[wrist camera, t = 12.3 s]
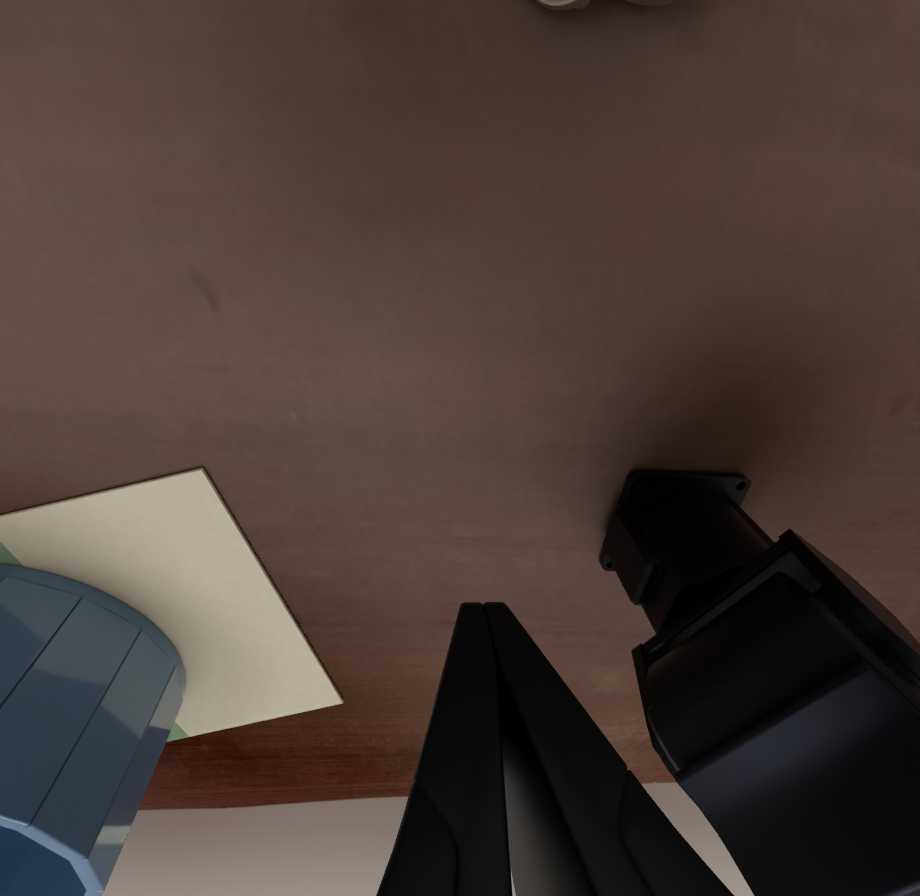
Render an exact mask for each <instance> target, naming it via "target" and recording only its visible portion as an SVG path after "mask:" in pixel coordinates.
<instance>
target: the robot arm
mask: <svg viewBox="0 0 920 896" xmlns="http://www.w3.org/2000/svg"><path fill="white" fill-rule="evenodd" d="M638 479H641V480H640V481H638V482H636V480H638ZM738 483H739V484H738ZM737 484H738V485H737ZM750 484H751V483H750V480H749V479H748V478H747V477H746V476H744V475H743V474H738V473H711V472H684V471H658V470H635V471H633V472H631V473H630V474H629V475H628V477H627V480H626V483H625V486H624V489H623V492H622V495H621V497H620V500H619V503H618V506H617V508H616V509H615V510H614V512H613V515H612V518H611V521H610V524H609V527H608V530H607V533H606V536H605V539H604V542H603V551H602V554H601V557H600V561H599V562H600V564H601V566H602V568H603V569H604V570H606V571H616V573H617V575H618V577H619V579H620V581H621V583H622V585H623V587H624V589H625V591H626V593H627V594H628V596H629V598H630V600H631V601H632V603H633V604H634V605H641V606H642V608H643V610H644V612H645V614H646V616H647V617H648V619H649V621H650V623H651V625H652V627H653V629H654V631H655V633H656V635H654V636H653V637H652V638H651V639H649V640H648V641H647V642H645V643H644V644H639V645H638V646H637V647H635V648H634V649H633V650H632V656H633V661H634V666H635V671H636V675H637V680H638V685H639V690H640V695H641V699H642V704H643V709H644V714H645V719H646V723H647V727H648V731H649V734H650V738H651V743H652V746H653V748H654V749H655V751H656V752H657V753H658V754H659V756H660V758H661V759H662V761H663V763H664V764H665V766H666V767H667V769H668V770H669V772H670V773H671V774H672V776H673V777H674V778H675V780H676V781H677V783H678V784H679V785H680V787H681V788H682V789H683V790H684V791H685V792H686V793H687V795H688V796H689V797H690V798H691V799H692V800H693V801H694V803H695V804H696V805H697V806H698V807H699V808H700V810H701V811H702V813H703V814H704V815H705V817H706V818H707V820H708V821H709V822H710V824H711V825H712V827H713V828H714V829H715V831H716V832H717V833H718V835H719V837H720V838H721V840H722V841H723V843H724V844H725V846H726V848H727V850H728V851H729V853H730V854H731V856H732V858H733V859H734V861H735V863H736V865H737V866H738V868H739V870H740V872H741V873H742V875H743V877H744V879H745V880H746V882H747V884H748V885H749V887H750V889H751V891H752V892H753V894H754V896H920V644H919V642H918V641H917V640H916V639H915V638H914V637H913V636H912V635H911V633H910V632H909V631H908V630H907V629H906V628H905V627H904V626H903V625H902V623H901V622H900V621H899V620H898V619H897V618H896V617H895V616H894V615H893V614H892V613H891V612H890V611H889V610H888V609H887V608H886V607H884V606H883V605H882V604H881V603H880V602H879V601H878V600H877V599H876V598H875V597H873V596H872V595H871V594H870V593H869V592H868V591H867V590H866V589H865V588H863V587H862V586H861V585H860V584H859V583H858V582H857V581H856V580H855V579H853V578H852V577H851V576H850V575H849V574H848V573H847V572H845V571H844V570H843V569H842V568H840V567H839V566H838V565H836V564H835V563H834V562H833V561H831V560H830V559H829V558H827V557H826V556H825V555H824V554H822V553H821V552H820V551H818V550H817V549H816V548H815V547H813V546H812V545H811V544H809V543H808V542H807V541H805V540H804V539H803V538H802V537H800V536H799V535H798V534H796V533H795V532H794V531H793V530H791V529H788V530H787V531H786V532H785V533H783V534H782V535H781V536H779V538H780V539H779V540H778V541H777V542H776V543H774V542H773V541H772V539H771V538H770V537H769V536H768V535H767V534H766V533H765V532H764V531H763V530H762V529H761V528H760V527H759V526H758V525H757V524H756V523H755V522H754V521H753V520H752V519H751V518H750V517H749V516H748V515H747V514H746V513H745V512H744V511H743V510H742V509H741V507H740V505H741V503H742V501H743V499H744V497H745V495H746V493H747V491H748V489H749V487H750ZM609 561H610V562H609ZM510 866H511V869H510ZM511 871H512V877H513V882H514V887H515V892H516V896H734V895H733V894H732V893H731V892H730V891H729V890H728V888H727V887H726V886H725V885H724V884H723V883H722V882H721V880H720V879H719V878H718V877H717V876H716V875H715V874H714V873H713V871H712V870H711V869H710V868H709V867H708V866H707V865H706V863H705V862H704V861H703V860H702V859H701V858H700V856H699V855H698V854H697V853H696V852H695V851H694V849H693V848H692V847H691V846H690V845H689V844H688V843H687V842H686V840H685V839H684V838H683V837H682V836H681V834H680V833H679V832H678V831H677V830H676V828H675V827H674V826H673V825H672V823H671V822H670V821H669V820H668V818H667V817H666V816H665V815H664V813H663V812H662V811H661V809H660V808H659V807H658V806H657V804H656V803H655V802H654V801H653V799H652V798H651V797H650V796H649V794H648V793H647V792H646V790H645V789H644V788H643V786H642V785H641V784H640V782H639V781H638V779H637V778H636V777H635V775H634V774H633V773H632V771H630V770H628V771H627V765H626V764H625V762H624V761H623V760H622V758H621V757H620V756H619V754H618V753H617V752H616V750H615V749H614V748H613V746H612V745H611V744H610V742H609V741H608V740H607V738H606V737H605V736H604V734H603V733H602V732H601V730H600V729H599V728H598V726H597V725H596V724H595V722H594V721H593V720H592V718H591V717H590V716H589V714H588V713H587V712H586V710H585V709H584V708H583V706H582V705H581V704H580V702H579V701H578V700H577V698H576V697H575V696H574V694H573V693H572V692H571V690H570V689H569V688H568V686H567V685H566V684H565V682H564V681H563V680H562V678H561V677H560V676H559V674H558V673H557V672H556V670H555V669H554V668H553V666H552V665H551V664H550V662H549V661H548V660H547V658H546V657H545V656H544V654H543V653H542V652H541V650H540V649H539V648H538V646H537V645H536V644H535V642H534V641H533V640H532V638H531V637H530V636H529V634H528V633H527V632H526V630H525V629H524V628H523V626H522V625H521V624H520V622H519V621H518V620H517V618H516V617H515V616H514V614H513V613H512V612H511V610H510V609H509V608H508V606H507V605H506V604H505V603H503V602H486V603H484V604H483V605H482V604H481V603H479V602H464V603H462V604H461V606H460V609H459V612H458V616H457V620H456V623H455V627H454V631H453V635H452V638H451V642H450V646H449V649H448V653H447V657H446V661H445V664H444V668H443V672H442V675H441V679H440V683H439V687H438V690H437V694H436V698H435V701H434V705H433V709H432V713H431V716H430V720H429V724H428V727H427V731H426V735H425V738H424V742H423V746H422V750H421V753H420V757H419V761H418V764H417V768H416V772H415V776H414V782H413V784H412V786H411V789H410V793H409V797H408V801H407V804H406V809H405V812H404V815H403V818H402V822H401V825H400V828H399V831H398V835H397V838H396V841H395V845H394V848H393V851H392V854H391V856H390V859H389V862H388V865H387V867H386V870H385V873H384V876H383V879H382V881H381V884H380V887H379V889H378V892H377V895H376V896H512V885H511Z"/></svg>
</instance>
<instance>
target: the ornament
mask: <svg viewBox="0 0 920 896" xmlns="http://www.w3.org/2000/svg"><path fill="white" fill-rule="evenodd" d="M535 1H537V2H538V3H539V4H541V5H542V6H544V7H546V8H548V9H552V10H558V11H561V10H568V9H573V8H575V7H576V8H577V9H579V10H582V9H584V8H585V7H586V6H587V5H588V4H589V2H590V1H591V0H535ZM625 1H628V2H630V3H634V4H638V5H644V6H659V5H665V4H668V3H671V2H673V1H676V0H625Z"/></svg>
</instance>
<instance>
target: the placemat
mask: <svg viewBox="0 0 920 896" xmlns="http://www.w3.org/2000/svg"><path fill="white" fill-rule="evenodd" d="M0 563H2V564H9V565H15V566H22V567H28V568H33V569H37V570H41V571H45V572H50V573H54V574H57V575H60V576H64V577H67V578H70V579H73V580H76V581H79V582H82V583H84V584H86V585H89V586H91V587H94V588H96V589H99V590H101V591H103V592H105V593H107V594H109V595H111V596H113V597H115V598H117V599H119V600H121V601H123V602H124V603H126V604H127V605H129V606H130V607H132V608H134V609H135V610H137V611H138V612H140V613H141V614H142V615H144V616H145V617H146V618H148V619H149V620H150V621H151V622H153V623H154V624H155V625H156V626H157V627H158V628H159V629H160V630H161V631H162V632H163V633H164V634H165V635H166V636H167V637H168V639H169V640H170V641H171V643H172V644H173V645H174V647H175V648H176V650H177V652H178V654H179V655H180V657H181V659H182V662H183V665H184V669H185V674H186V688H185V694H184V696H183V703H182V705H181V708H180V710H179V712H178V715H177V717H176V720H175V722H174V724H173V727H172V729H171V732H170V734H169V736H168V739H167V741H166V742H168V741H173V740H177V739H182V738H186V737H191V736H196V735H200V734H205V733H209V732H214V731H218V730H223V729H228V728H232V727H237V726H241V725H246V724H250V723H255V722H260V721H264V720H269V719H273V718H278V717H282V716H287V715H291V714H296V713H301V712H305V711H310V710H314V709H319V708H323V707H328V706H333V705H337V704H342V703H343V699H342V697H341V696H340V694H339V692H338V691H337V689H336V687H335V686H334V684H333V682H332V681H331V679H330V677H329V676H328V674H327V672H326V671H325V669H324V667H323V666H322V664H321V663H320V661H319V659H318V658H317V656H316V654H315V653H314V651H313V649H312V648H311V646H310V644H309V643H308V641H307V639H306V638H305V636H304V634H303V633H302V631H301V629H300V628H299V626H298V624H297V623H296V621H295V619H294V618H293V616H292V614H291V613H290V611H289V609H288V608H287V606H286V604H285V603H284V601H283V599H282V598H281V596H280V594H279V593H278V591H277V589H276V588H275V586H274V584H273V583H272V581H271V579H270V578H269V576H268V574H267V573H266V571H265V569H264V568H263V566H262V564H261V563H260V561H259V559H258V558H257V556H256V555H255V553H254V551H253V550H252V548H251V546H250V545H249V543H248V541H247V540H246V538H245V536H244V535H243V533H242V531H241V530H240V528H239V526H238V525H237V523H236V521H235V520H234V518H233V516H232V515H231V513H230V511H229V510H228V508H227V506H226V505H225V503H224V501H223V500H222V498H221V496H220V495H219V493H218V491H217V490H216V488H215V486H214V485H213V483H212V481H211V480H210V478H209V476H208V475H207V473H206V471H205V470H204V468H199V469H195V470H190V471H186V472H182V473H178V474H173V475H169V476H165V477H160V478H156V479H152V480H148V481H143V482H139V483H135V484H131V485H126V486H122V487H118V488H114V489H109V490H105V491H101V492H97V493H92V494H88V495H84V496H79V497H75V498H71V499H67V500H62V501H58V502H54V503H50V504H45V505H41V506H37V507H33V508H28V509H24V510H20V511H16V512H11V513H7V514H3V515H0Z"/></svg>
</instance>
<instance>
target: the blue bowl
mask: <svg viewBox="0 0 920 896" xmlns="http://www.w3.org/2000/svg"><path fill="white" fill-rule="evenodd" d="M185 688H186V674H185V669H184V665H183V662H182V659H181V657H180V655H179V654H178V652H177V650H176V648H175V647H174V645H173V644H172V643H171V641H170V640H169V639H168V637H167V636H166V635H165V634H164V633H163V632H162V631H161V630H160V629H159V628H158V627H157V626H156V625H155V624H154V623H153V622H151V621H150V620H149V619H148V618H146V617H145V616H144V615H142V614H141V613H140V612H138V611H137V610H135V609H134V608H132V607H130V606H129V605H127V604H126V603H124V602H123V601H121V600H119V599H117V598H115V597H113V596H111V595H109V594H107V593H105V592H103V591H101V590H99V589H96V588H94V587H91V586H89V585H86V584H84V583H82V582H79V581H76V580H73V579H70V578H67V577H64V576H60V575H57V574H54V573H50V572H45V571H41V570H37V569H33V568H28V567H22V566H15V565H9V564H2V563H0V896H101V895H102V893H103V891H104V890H105V888H106V885H107V883H108V881H109V878H110V876H111V873H112V871H113V869H114V866H115V864H116V861H117V859H118V856H119V854H120V852H121V849H122V847H123V845H124V842H125V840H126V837H127V835H128V833H129V830H130V828H131V825H132V823H133V820H134V818H135V816H136V813H137V811H138V809H139V806H140V804H141V801H142V799H143V796H144V794H145V792H146V789H147V787H148V784H149V782H150V780H151V777H152V775H153V772H154V770H155V768H156V765H157V763H158V760H159V758H160V756H161V753H162V751H163V748H164V746H165V744H166V741H167V739H168V736H169V734H170V732H171V729H172V727H173V724H174V722H175V720H176V717H177V715H178V712H179V710H180V708H181V705H182V703H183V696H184V694H185Z"/></svg>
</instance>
